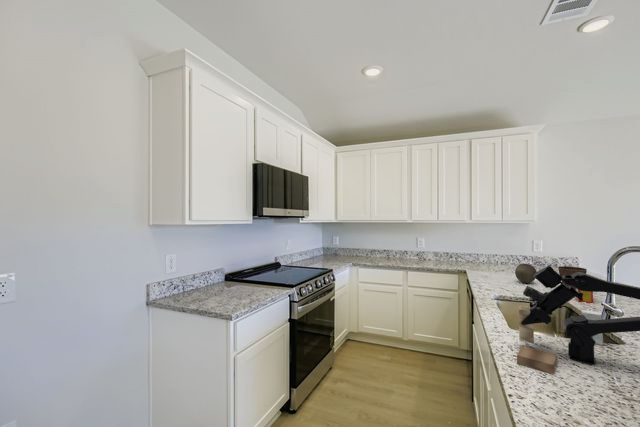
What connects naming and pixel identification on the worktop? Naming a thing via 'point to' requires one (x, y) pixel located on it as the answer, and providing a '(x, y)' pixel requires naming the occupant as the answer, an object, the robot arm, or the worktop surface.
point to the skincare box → (594, 316)
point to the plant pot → (570, 272)
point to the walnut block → (537, 359)
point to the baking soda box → (586, 296)
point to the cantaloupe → (525, 273)
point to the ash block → (525, 326)
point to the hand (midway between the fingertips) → (521, 321)
